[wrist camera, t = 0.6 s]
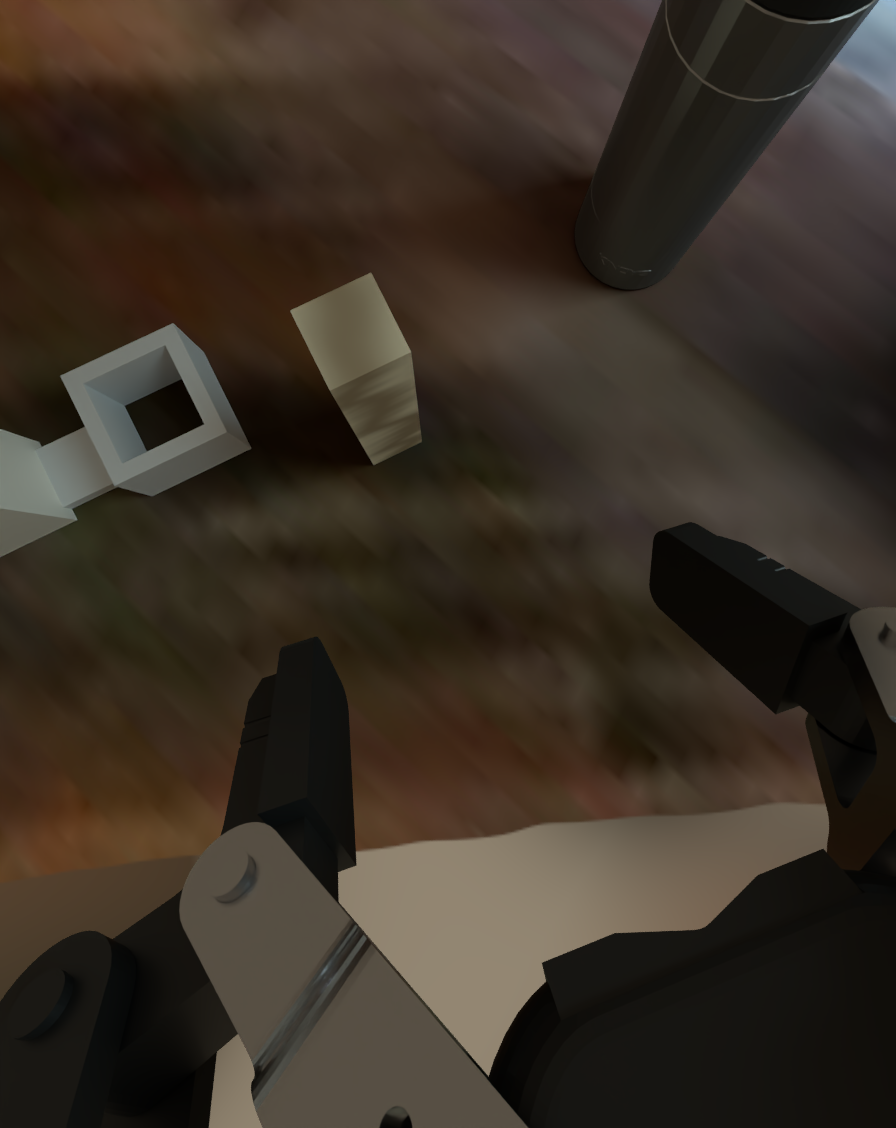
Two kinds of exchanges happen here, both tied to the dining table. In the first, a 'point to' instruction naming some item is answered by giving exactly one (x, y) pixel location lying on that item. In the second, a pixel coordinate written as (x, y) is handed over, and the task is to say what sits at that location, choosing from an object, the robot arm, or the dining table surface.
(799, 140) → the dining table surface
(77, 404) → the post
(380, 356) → the block
